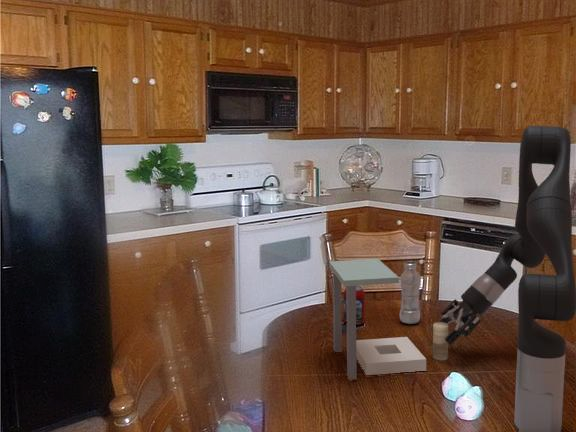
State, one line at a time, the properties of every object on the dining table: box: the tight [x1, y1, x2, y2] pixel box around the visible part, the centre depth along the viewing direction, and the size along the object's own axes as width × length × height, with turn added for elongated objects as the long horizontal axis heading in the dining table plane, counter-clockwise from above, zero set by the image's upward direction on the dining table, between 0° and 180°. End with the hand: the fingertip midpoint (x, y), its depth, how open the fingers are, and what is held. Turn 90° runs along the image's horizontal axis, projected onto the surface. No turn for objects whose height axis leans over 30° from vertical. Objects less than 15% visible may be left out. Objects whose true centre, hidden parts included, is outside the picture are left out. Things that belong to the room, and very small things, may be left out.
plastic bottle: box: [399, 260, 422, 325], centre depth 187 cm, size 6×7×20 cm
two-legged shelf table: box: [328, 258, 400, 380], centre depth 156 cm, size 14×20×26 cm
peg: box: [432, 321, 449, 361], centre depth 160 cm, size 4×4×10 cm
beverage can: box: [343, 285, 366, 324], centre depth 189 cm, size 7×7×12 cm
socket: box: [356, 336, 427, 376], centre depth 159 cm, size 16×16×4 cm
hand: (441, 336), depth 160 cm, fingers open, 8 cm apart
